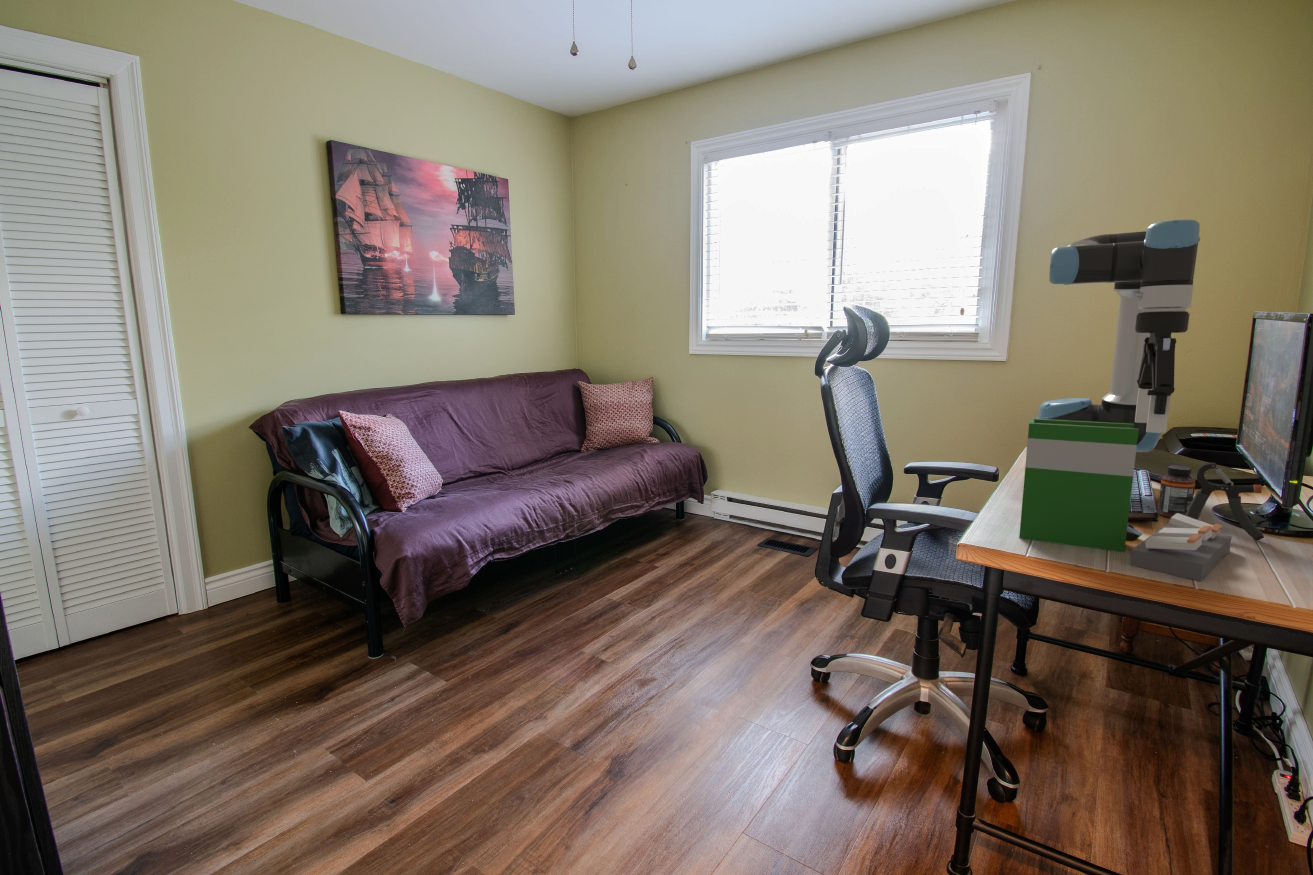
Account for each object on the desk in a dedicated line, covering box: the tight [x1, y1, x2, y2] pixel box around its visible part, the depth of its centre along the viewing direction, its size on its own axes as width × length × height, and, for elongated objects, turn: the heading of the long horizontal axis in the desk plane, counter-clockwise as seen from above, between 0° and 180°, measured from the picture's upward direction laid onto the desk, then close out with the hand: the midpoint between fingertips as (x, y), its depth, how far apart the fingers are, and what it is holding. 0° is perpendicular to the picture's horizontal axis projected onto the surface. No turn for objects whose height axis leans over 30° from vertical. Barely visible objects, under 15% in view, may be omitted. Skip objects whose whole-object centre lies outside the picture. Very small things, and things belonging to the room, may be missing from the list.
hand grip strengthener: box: [1186, 462, 1265, 542], centre depth 129 cm, size 2×12×15 cm, turn 51°
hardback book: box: [1018, 418, 1139, 553], centre depth 128 cm, size 18×7×24 cm, turn 60°
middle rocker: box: [1156, 526, 1212, 540], centre depth 118 cm, size 4×7×2 cm, turn 39°
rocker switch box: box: [1130, 524, 1233, 582], centre depth 121 cm, size 27×10×3 cm, turn 129°
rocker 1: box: [1145, 535, 1202, 550], centre depth 114 cm, size 4×7×2 cm, turn 39°
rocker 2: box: [1168, 513, 1223, 539], centre depth 123 cm, size 4×7×2 cm, turn 39°
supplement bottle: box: [1157, 464, 1196, 519], centre depth 144 cm, size 6×6×11 cm
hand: (1149, 427), depth 118 cm, fingers open, 13 cm apart
